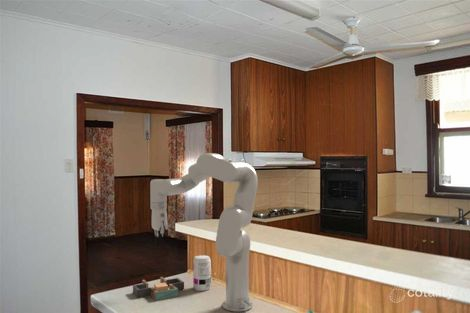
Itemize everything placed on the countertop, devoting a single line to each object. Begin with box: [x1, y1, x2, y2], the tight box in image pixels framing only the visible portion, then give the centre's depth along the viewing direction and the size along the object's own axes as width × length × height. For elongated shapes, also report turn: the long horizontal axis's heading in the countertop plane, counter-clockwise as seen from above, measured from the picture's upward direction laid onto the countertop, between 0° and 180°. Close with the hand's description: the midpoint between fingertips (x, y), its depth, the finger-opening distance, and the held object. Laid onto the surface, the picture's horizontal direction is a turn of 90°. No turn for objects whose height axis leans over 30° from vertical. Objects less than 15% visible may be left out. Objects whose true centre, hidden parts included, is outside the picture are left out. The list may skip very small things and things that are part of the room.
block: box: [153, 282, 169, 292], centre depth 169 cm, size 5×5×5 cm
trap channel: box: [132, 276, 185, 302], centre depth 174 cm, size 21×22×4 cm
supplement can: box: [192, 254, 212, 292], centre depth 178 cm, size 8×8×15 cm
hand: (159, 244), depth 175 cm, fingers closed
